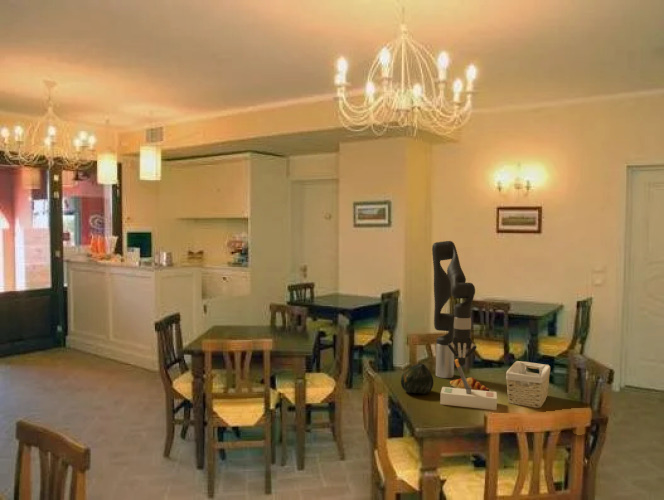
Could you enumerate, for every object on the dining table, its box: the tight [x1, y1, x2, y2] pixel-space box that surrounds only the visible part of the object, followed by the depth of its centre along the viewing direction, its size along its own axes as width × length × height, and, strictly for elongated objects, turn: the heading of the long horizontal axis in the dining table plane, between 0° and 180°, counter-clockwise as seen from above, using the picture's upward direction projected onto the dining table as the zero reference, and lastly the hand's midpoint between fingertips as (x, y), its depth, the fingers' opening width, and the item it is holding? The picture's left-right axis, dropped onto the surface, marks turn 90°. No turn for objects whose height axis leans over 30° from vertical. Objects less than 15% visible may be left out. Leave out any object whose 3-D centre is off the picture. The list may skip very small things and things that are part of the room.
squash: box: [400, 363, 434, 395], centre depth 259 cm, size 14×15×15 cm
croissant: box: [449, 377, 490, 391], centre depth 263 cm, size 21×10×8 cm, turn 47°
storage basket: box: [505, 360, 551, 409], centre depth 251 cm, size 24×16×15 cm
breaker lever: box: [454, 358, 470, 389], centre depth 244 cm, size 3×2×14 cm, turn 164°
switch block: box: [439, 386, 498, 411], centre depth 249 cm, size 20×24×7 cm
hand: (461, 365), depth 244 cm, fingers closed
